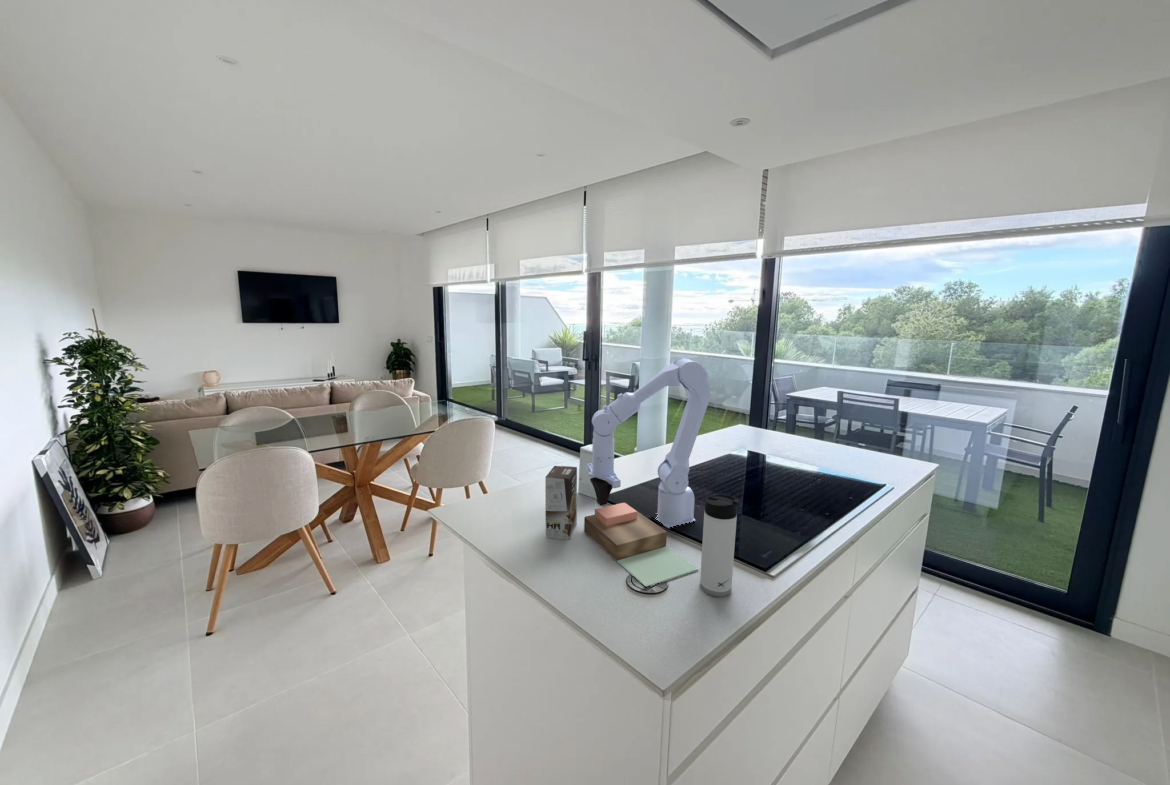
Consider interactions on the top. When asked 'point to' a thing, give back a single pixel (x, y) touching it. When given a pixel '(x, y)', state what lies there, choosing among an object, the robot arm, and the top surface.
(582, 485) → the skincare box
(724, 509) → the travel mug
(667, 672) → the top surface
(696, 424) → the robot arm
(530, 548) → the top surface
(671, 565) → the sage mat
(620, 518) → the coral block
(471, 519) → the top surface
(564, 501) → the coffee box
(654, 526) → the block
